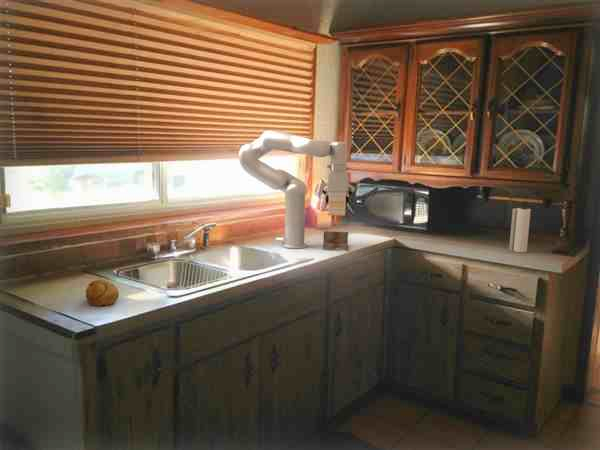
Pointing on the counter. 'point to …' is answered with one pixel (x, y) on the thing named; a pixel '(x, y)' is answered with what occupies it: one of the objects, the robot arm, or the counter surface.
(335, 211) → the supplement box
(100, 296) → the bread roll
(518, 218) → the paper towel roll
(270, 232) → the counter surface
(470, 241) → the counter surface
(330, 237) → the cleat holder
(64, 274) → the counter surface
